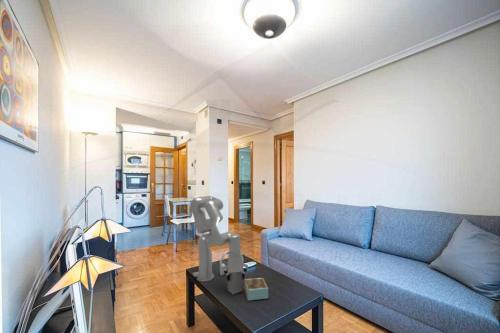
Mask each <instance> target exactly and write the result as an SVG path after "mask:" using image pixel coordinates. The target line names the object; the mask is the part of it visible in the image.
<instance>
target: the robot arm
mask: <svg viewBox="0 0 500 333" xmlns="http://www.w3.org/2000/svg"><path fill="white" fill-rule="evenodd" d="M189 204H190V207H189V208H190V211H191V213H192V215H193V219H194V223H195V228H196V231H197V233H198V234H202V235H201V236H199V237H198V239H197V247H198V248H197V249H198V271H197V272H192V276H193V277H196V280H197V281H199V282H202V283H206V282H210V281H212V280H213V279H214V278H215V274H214V273H213V254H212V253H213V252H212V250H211V249H210V248H211V247H213V246H218V247H223V246H225V245H228V250H229V252H227V254H226V255H228V256H227V264H225V266H224V267H223V268H222V270H223V272H224V273H225V274H224V275H226V280H228V281H227V283H228V282H229V273H232V272H234V273H235V272H241V279H242V281H244V279H246V278H245V274H246V272H248V269H249V265H248V264H246V263H244V257H243V258H242V255H243V254H242V255H241V253H242V251H241V249H242V248H241V246H242V245H241V235H240V234H239V233H234V232H233V231H226V232H223V233H220V231H219V228H218V227H219V223H220V222H222V221H223V218H224V217H223V214H222V213H221V210H223V208H224V203H223V201H222V200H221V199H220V198H217V197H214V196H211V195H206V196H198V197H194V198H193V199H192V200H191V201H190V203H189ZM202 209H205V211H206V213H207V215H208V217H209V218H207V217H206V214H205V212H204V211H203V210H202ZM225 269H226V271H225ZM227 269H228V270H227Z"/></svg>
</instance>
